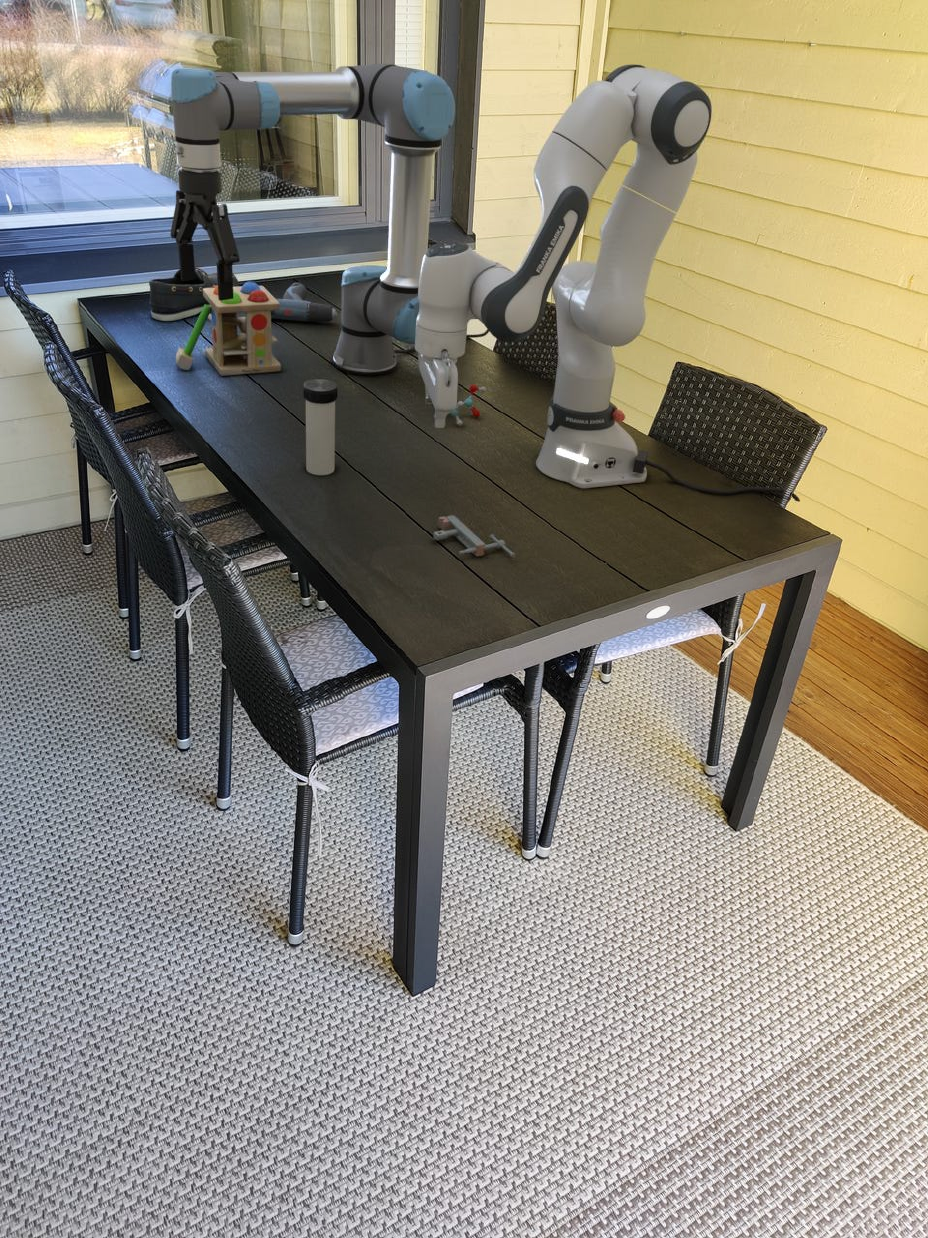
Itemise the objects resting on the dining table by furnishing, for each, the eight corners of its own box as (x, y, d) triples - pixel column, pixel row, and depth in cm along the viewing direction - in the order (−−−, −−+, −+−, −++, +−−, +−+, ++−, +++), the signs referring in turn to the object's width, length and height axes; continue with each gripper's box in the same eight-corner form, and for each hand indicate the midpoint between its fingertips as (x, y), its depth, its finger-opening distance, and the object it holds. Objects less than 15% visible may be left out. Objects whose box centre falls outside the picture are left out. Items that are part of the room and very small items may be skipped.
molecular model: (479, 418, 207) (464, 372, 206) (439, 432, 211) (424, 387, 209) (495, 415, 218) (481, 371, 216) (457, 429, 221) (443, 386, 220)
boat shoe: (257, 300, 274) (255, 261, 268) (168, 323, 250) (164, 281, 244) (224, 291, 279) (221, 254, 274) (133, 313, 256) (128, 272, 250)
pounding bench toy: (183, 379, 220) (176, 299, 210) (169, 357, 231) (162, 280, 221) (282, 371, 230) (280, 294, 220) (264, 350, 240) (262, 276, 230)
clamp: (423, 519, 171) (472, 509, 176) (423, 530, 173) (471, 520, 177) (466, 561, 161) (517, 549, 165) (465, 572, 162) (516, 561, 167)
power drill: (344, 304, 276) (335, 327, 259) (277, 298, 275) (264, 321, 258) (344, 285, 273) (335, 306, 256) (277, 279, 272) (264, 300, 255)
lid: (344, 397, 182) (344, 385, 181) (321, 406, 178) (321, 394, 177) (319, 388, 185) (319, 376, 184) (296, 396, 181) (296, 384, 179)
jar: (340, 469, 190) (341, 387, 181) (321, 477, 187) (321, 395, 177) (319, 460, 193) (319, 379, 183) (300, 468, 189) (299, 386, 180)
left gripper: (145, 155, 179) (155, 274, 191) (217, 183, 164) (224, 310, 176) (182, 153, 183) (190, 269, 195) (256, 180, 169) (260, 304, 181)
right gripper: (469, 362, 162) (462, 439, 170) (448, 322, 179) (442, 394, 186) (431, 361, 161) (426, 439, 169) (414, 321, 177) (409, 394, 185)
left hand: (206, 289), depth 186 cm, fingers open, 13 cm apart
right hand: (434, 415), depth 178 cm, fingers open, 8 cm apart
